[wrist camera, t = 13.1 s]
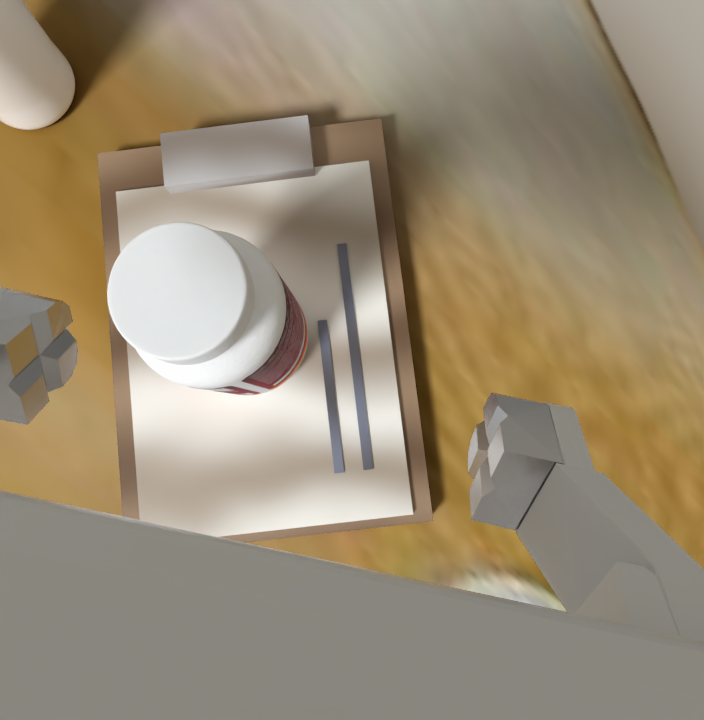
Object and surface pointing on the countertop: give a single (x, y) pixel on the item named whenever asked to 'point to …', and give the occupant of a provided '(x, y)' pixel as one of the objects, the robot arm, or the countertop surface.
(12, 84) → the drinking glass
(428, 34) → the countertop surface
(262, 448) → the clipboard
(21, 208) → the countertop surface
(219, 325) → the pill bottle
